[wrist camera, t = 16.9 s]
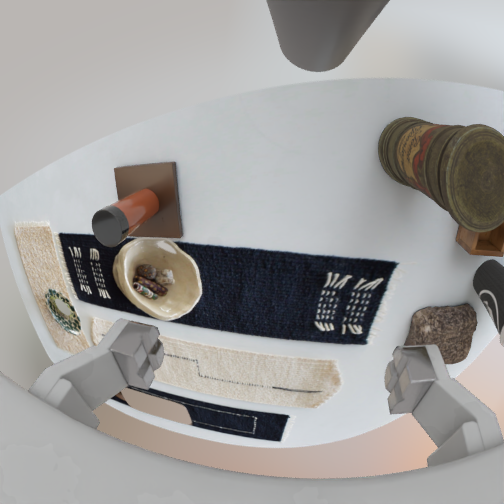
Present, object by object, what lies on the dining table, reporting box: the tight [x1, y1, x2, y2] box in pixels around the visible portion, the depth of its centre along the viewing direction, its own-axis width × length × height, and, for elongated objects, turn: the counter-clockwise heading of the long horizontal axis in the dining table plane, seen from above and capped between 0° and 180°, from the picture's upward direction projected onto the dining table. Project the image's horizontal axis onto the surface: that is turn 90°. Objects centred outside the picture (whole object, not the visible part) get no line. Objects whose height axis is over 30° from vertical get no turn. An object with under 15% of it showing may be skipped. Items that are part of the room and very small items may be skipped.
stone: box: [404, 304, 477, 364], centre depth 38 cm, size 11×13×6 cm
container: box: [378, 117, 504, 232], centre depth 22 cm, size 9×9×18 cm
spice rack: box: [456, 222, 504, 257], centre depth 28 cm, size 14×7×5 cm, turn 1°
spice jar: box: [92, 189, 159, 247], centre depth 34 cm, size 5×5×10 cm
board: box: [114, 162, 183, 238], centre depth 39 cm, size 11×10×1 cm
